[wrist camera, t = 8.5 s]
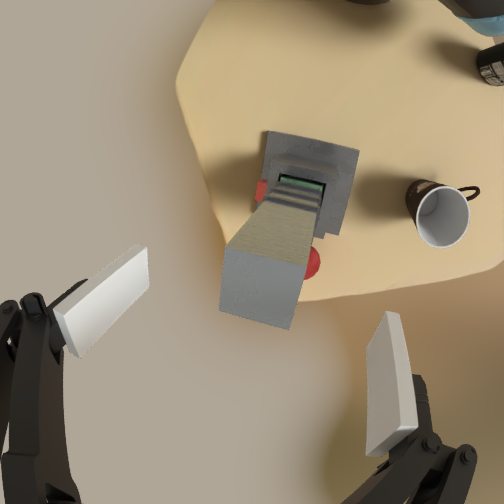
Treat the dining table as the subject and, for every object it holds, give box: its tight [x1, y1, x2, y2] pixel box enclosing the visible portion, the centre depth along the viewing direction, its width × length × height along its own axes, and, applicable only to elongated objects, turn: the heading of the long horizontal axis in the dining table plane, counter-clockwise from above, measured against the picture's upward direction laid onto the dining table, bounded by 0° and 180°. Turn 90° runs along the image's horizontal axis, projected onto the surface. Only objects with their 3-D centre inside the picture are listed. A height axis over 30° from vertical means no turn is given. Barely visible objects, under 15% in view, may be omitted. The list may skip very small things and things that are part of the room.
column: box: [219, 175, 323, 330], centre depth 25 cm, size 5×5×22 cm
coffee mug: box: [406, 180, 480, 248], centre depth 34 cm, size 12×9×10 cm
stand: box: [255, 131, 359, 239], centre depth 38 cm, size 14×14×12 cm
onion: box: [304, 246, 320, 280], centre depth 45 cm, size 6×6×8 cm
